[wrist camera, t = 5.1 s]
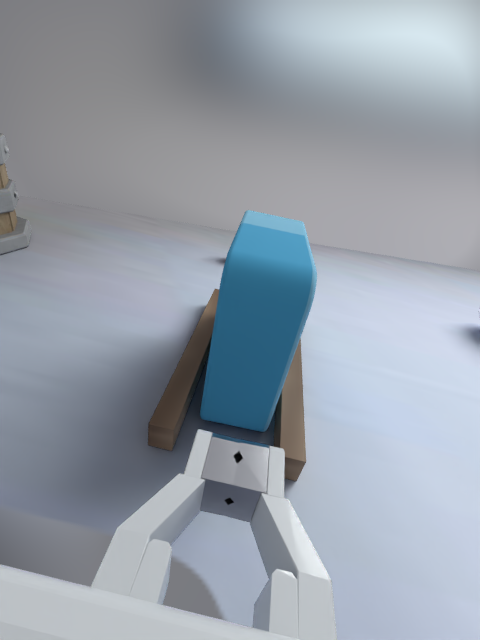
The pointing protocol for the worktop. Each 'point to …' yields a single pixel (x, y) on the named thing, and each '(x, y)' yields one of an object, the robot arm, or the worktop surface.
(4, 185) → the tankard
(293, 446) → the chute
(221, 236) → the worktop surface
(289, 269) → the data package
